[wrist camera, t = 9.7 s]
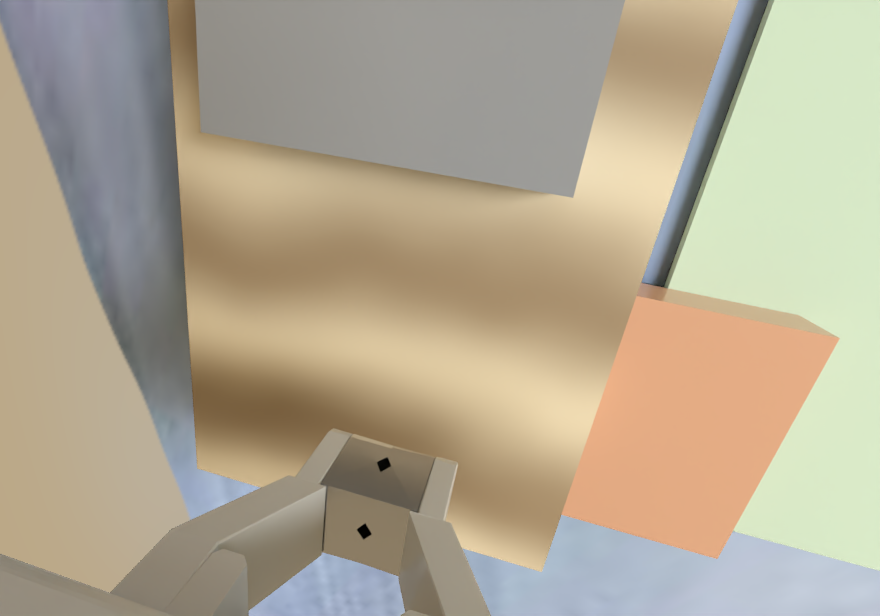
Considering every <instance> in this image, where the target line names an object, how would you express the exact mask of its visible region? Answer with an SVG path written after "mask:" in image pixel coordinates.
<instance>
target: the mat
mask: <svg viewBox="0 0 880 616" xmlns="http://www.w3.org/2000/svg"><path fill="white" fill-rule="evenodd" d="M664 288H668V289H673V290H678V291H683V292H688V293H693V294H698V295H703V296H708V297H713V298H717V299H722V300H727V301H732V302H737V303H742V304H747V305H752V306H757V307H761V308H766V309H771V310H776V311H781V312H786V313H791V314H796V315H799V316H801V317H803V318H805V319H807V320H808V321H810V322H812V323H814V324H815V325H817V326H819V327H821V328H823V329H824V330H826V331H828V332H830V333H831V334H833V335H835V336H837V337H838V338H840V339H839V341H838V343H837V344H836V346H835V348H834V350H833V352H832V353H831V355H830V357H829V359H828V361H827V362H826V364H825V366H824V368H823V370H822V371H821V373H820V375H819V377H818V379H817V380H816V382H815V384H814V386H813V388H812V389H811V391H810V393H809V395H808V397H807V398H806V400H805V402H804V404H803V406H802V407H801V409H800V411H799V413H798V415H797V416H796V418H795V420H794V422H793V424H792V425H791V427H790V429H789V431H788V433H787V434H786V436H785V438H784V440H783V442H782V443H781V445H780V447H779V449H778V451H777V452H776V454H775V456H774V458H773V460H772V461H771V463H770V465H769V467H768V468H767V470H766V472H765V474H764V476H763V477H762V479H761V481H760V483H759V485H758V486H757V488H756V490H755V492H754V494H753V495H752V497H751V499H750V501H749V503H748V504H747V506H746V508H745V510H744V512H743V513H742V515H741V517H740V519H739V521H738V522H737V524H736V526H735V528H734V530H733V531H735V532H738V533H742V534H746V535H749V536H753V537H757V538H760V539H764V540H768V541H772V542H775V543H779V544H783V545H786V546H790V547H794V548H797V549H801V550H805V551H809V552H812V553H816V554H820V555H823V556H827V557H831V558H834V559H838V560H842V561H846V562H849V563H853V564H857V565H860V566H864V567H868V568H871V569H875V570H879V571H880V0H769V1H768V4H767V6H766V9H765V12H764V14H763V17H762V20H761V23H760V25H759V28H758V31H757V34H756V36H755V39H754V42H753V45H752V47H751V50H750V53H749V55H748V58H747V61H746V64H745V66H744V69H743V72H742V75H741V77H740V80H739V83H738V86H737V88H736V91H735V94H734V96H733V99H732V102H731V105H730V107H729V110H728V113H727V116H726V118H725V121H724V124H723V127H722V129H721V132H720V135H719V138H718V140H717V143H716V146H715V148H714V151H713V154H712V157H711V159H710V162H709V165H708V168H707V170H706V173H705V176H704V179H703V181H702V184H701V187H700V189H699V192H698V195H697V198H696V200H695V203H694V206H693V209H692V211H691V214H690V217H689V220H688V222H687V225H686V228H685V230H684V233H683V236H682V239H681V241H680V244H679V247H678V250H677V252H676V255H675V258H674V261H673V263H672V266H671V269H670V272H669V274H668V277H667V280H666V282H665V285H664Z"/></svg>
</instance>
